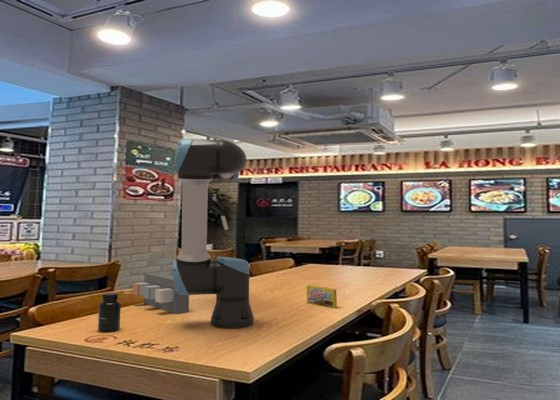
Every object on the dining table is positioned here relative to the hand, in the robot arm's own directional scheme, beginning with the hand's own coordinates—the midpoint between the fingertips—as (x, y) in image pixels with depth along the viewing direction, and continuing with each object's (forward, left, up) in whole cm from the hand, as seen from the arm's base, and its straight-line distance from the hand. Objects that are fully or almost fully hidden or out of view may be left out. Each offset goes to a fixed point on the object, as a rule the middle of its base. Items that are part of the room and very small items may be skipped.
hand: (213, 234), depth 206 cm
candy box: (-10, -48, -30) cm, 58 cm away
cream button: (-27, +14, -25) cm, 40 cm away
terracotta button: (-10, +28, -25) cm, 39 cm away
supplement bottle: (-55, +27, -30) cm, 68 cm away
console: (-16, +18, -30) cm, 38 cm away
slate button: (-19, +21, -25) cm, 38 cm away
